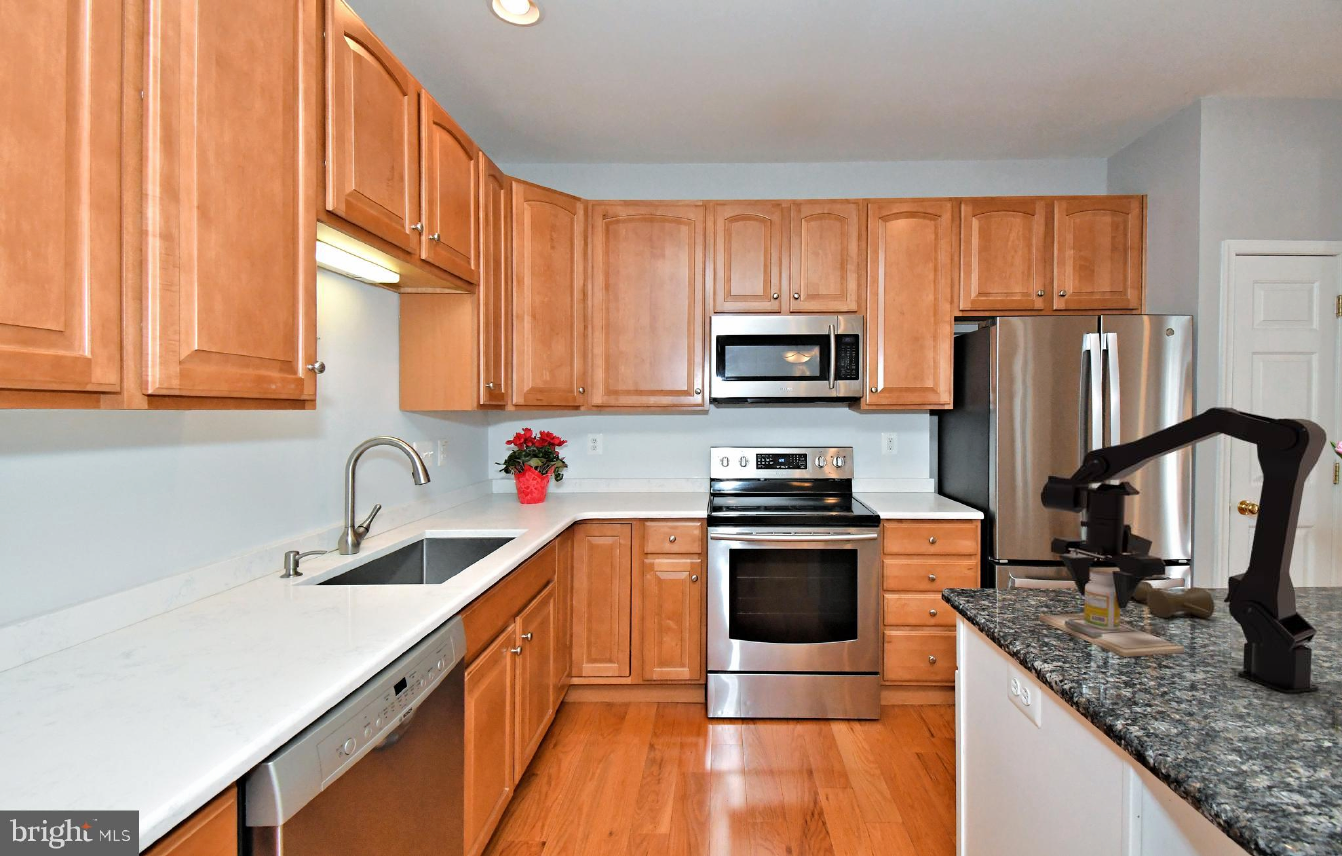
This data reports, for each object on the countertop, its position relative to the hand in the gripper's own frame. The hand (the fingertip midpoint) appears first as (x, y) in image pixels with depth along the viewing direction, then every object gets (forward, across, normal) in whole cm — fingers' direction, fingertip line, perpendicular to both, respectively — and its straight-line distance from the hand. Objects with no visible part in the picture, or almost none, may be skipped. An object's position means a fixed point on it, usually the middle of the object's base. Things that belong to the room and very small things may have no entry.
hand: (1102, 601), depth 112 cm
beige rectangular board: (+6, -2, +1) cm, 6 cm away
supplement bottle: (+5, 0, 0) cm, 5 cm away
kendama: (+6, +8, -24) cm, 26 cm away
